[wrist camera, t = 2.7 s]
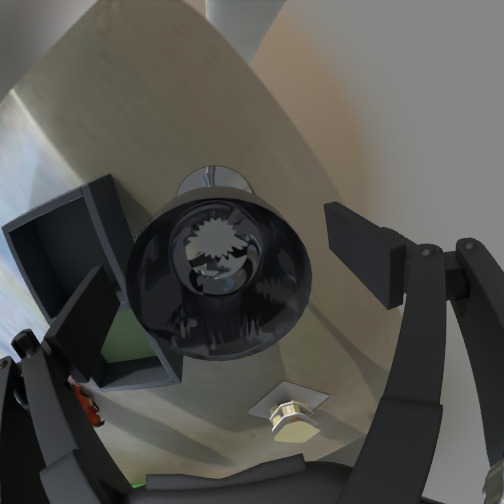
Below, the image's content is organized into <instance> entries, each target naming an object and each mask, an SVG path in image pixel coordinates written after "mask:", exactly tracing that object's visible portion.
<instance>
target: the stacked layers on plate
mask: <svg viewBox="0 0 504 504" xmlns="http://www.w3.org/2000/svg"><path fill="white" fill-rule="evenodd" d="M328 397H329V395H326V394H322V393H319V392H316V391H313V390H310V389H307V388H303V387H300V386H297V385H294V384H291V383H289V382H286V381H282V382H281V383H280V384H279V385H278V386H277V387H276V388H275V389H273V390H272V391H271V392H270V393H269V394H268V395H267V396H265V397H264V398H263V399H262V400H261V401H260V402H258V403H257V404H256V405H255V406H254V407H252V408H251V409H250V410H249V411H247V412H246V413H247V414H251V415H254V416H258V417H262V418H266V419H270V422H271V423H272V424H274V428H273V429H272V432H273V434H275V435H276V436H275V437H274V440H275V441H278V442H291V443H304V442H305V441H307V440H308V439H310V438H311V437H313V436H314V435H316V434H317V433H319V432H320V430H318V429H317V428H315V427H316V426H317V425H318V423H317V422H316V421H314V419H313V415H315V414H314V412H312V410H313V409H314V408H316V407H317V406H318V405H319V404H321V403H322V402H323V401H324V400H326V399H327V398H328Z"/></svg>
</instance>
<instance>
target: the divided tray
mask: <svg viewBox="0 0 504 504" xmlns="http://www.w3.org/2000/svg"><path fill="white" fill-rule="evenodd" d="M1 228H2V231H3V233H4V236H5V238H6V241H7V243H8V246H9V248H10V251H11V253H12V255H13V258H14V260H15V262H16V264H17V266H18V269H19V271H20V273H21V275H22V277H23V279H24V281H25V283H26V285H27V287H28V289H29V291H30V293H31V294H32V296H33V298H34V300H35V302H36V304H37V305H38V307H39V309H40V311H41V312H42V314H43V316H44V317H45V319H46V321H47V322H48V324H49V326H50V327H51V325H52V324H53V322H54V321H55V319H56V318H57V316H58V315H59V313H60V312H61V310H62V309H63V307H64V306H65V304H66V303H67V302H68V300H69V299H70V297H71V296H72V295H73V293H74V292H75V290H76V289H77V288H78V286H79V285H80V284H81V282H82V281H83V280H84V278H85V277H86V276H87V274H88V273H89V272H90V270H91V269H92V268H94V267H97V266H100V265H103V267H104V269H105V271H106V274H107V276H108V278H109V280H110V282H111V284H112V287H113V289H114V291H115V293H116V295H117V297H118V299H119V301H120V303H121V305H120V307H119V309H118V311H117V314H116V316H115V318H114V321H113V323H112V325H111V328H110V330H109V332H108V335H107V337H106V340H105V342H104V344H103V347H102V349H101V352H100V355H99V357H98V360H97V362H96V365H95V368H94V370H93V373H92V376H91V379H90V381H89V382H90V383H91V384H92V385H93V387H94V388H95V389H96V390H97V391H98V393H102V392H115V391H125V390H135V389H143V388H151V387H159V386H166V385H172V384H178V383H181V381H182V366H183V355H182V354H179V353H177V352H175V351H173V350H170V349H168V348H167V347H165V346H164V345H162V344H161V343H159V342H158V341H156V340H155V339H154V338H153V337H152V336H151V335H150V334H149V333H147V332H146V331H145V329H144V328H143V327H142V325H141V324H140V323H139V322H138V320H137V319H136V317H135V315H134V313H133V311H132V309H131V307H130V304H129V300H128V297H127V293H126V283H125V276H126V266H127V262H128V259H129V256H130V253H131V250H132V248H133V246H134V244H135V243H134V241H133V238H132V236H131V233H130V230H129V228H128V225H127V222H126V219H125V217H124V214H123V211H122V208H121V205H120V202H119V199H118V196H117V193H116V190H115V187H114V184H113V181H112V177H111V174H108V175H105V176H103V177H100V178H98V179H96V180H93V181H91V182H88V183H86V184H84V185H81V186H79V187H77V188H75V189H72V190H70V191H68V192H66V193H64V194H62V195H60V196H57V197H55V198H53V199H51V200H49V201H47V202H45V203H43V204H41V205H39V206H37V207H35V208H33V209H31V210H30V211H28V212H26V213H24V214H22V215H21V216H19V217H17V218H15V219H14V220H12V221H10V222H9V223H7V224H5V225H4V226H2V227H1Z"/></svg>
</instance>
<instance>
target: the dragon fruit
mask: <svg viewBox="0 0 504 504" xmlns="http://www.w3.org/2000/svg"><path fill="white" fill-rule="evenodd" d="M71 385H72V386H73V389H74V391H75V394H76V396H77V398H78V400H79V402H80V404H81V406H82V408H83V410H84V412H85V414H86V415H87V417H88V419H89V421H90V423H91V425H92V426H93V428H95V427H100V426H102V425H104V423H105V420H104V421H102V422H101V419H100V416H99V415H97V414H96V412H97V413H99V412H100V409H99V407H98V406H97V405H96V403H95V402H94V401H93V399H94V398H93V397H91V398H88V397H85V396H84V395H83V394H81V393H80V390H81V386H80V385H79V384H74V383H71ZM94 406H95V407H96V408H97V409H98V410H96V409H95V408H94Z"/></svg>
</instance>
